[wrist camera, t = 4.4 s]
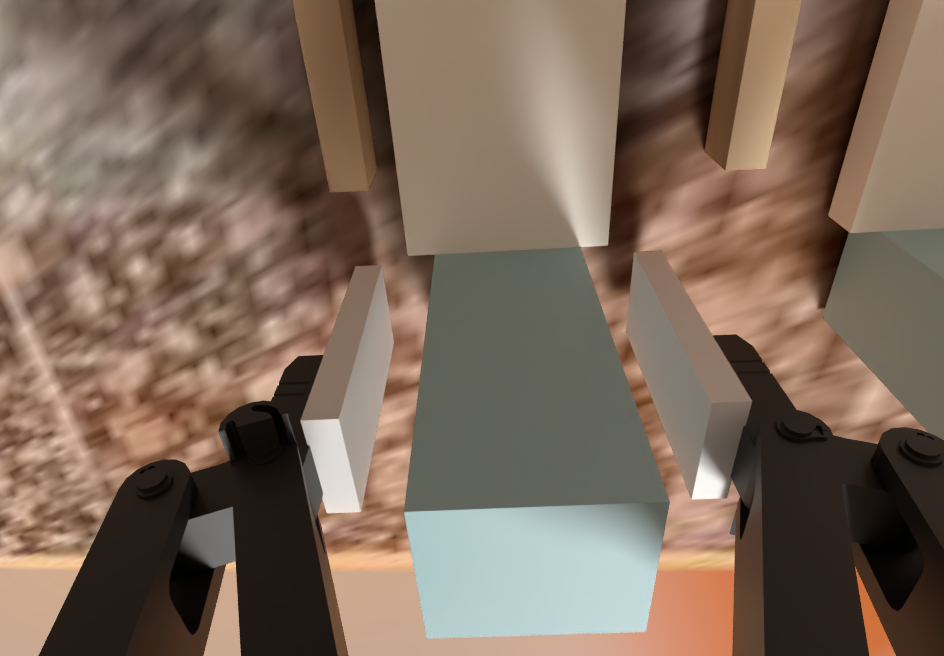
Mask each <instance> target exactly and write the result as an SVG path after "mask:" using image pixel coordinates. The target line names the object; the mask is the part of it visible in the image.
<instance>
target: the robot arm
mask: <svg viewBox="0 0 944 656" xmlns="http://www.w3.org/2000/svg"><path fill="white" fill-rule="evenodd" d="M626 333H627V336H628V338H629V341H630V343H631V346H632V348H633V351H634V353H635V356H636V359H637V361H638V364H639V366H640V369H641V371H642V374H643V376H644V379H645V382H646V384H647V387H648V389H649V392H650V394H651V397H652V400H653V402H654V405H655V407H656V410H657V412H658V415H659V417H660V420H661V423H662V425H663V428H664V430H665V433H666V435H667V438H668V440H669V443H670V446H671V448H672V451H673V453H674V456H675V458H676V461H677V463H678V466H679V469H680V471H681V474H682V476H683V479H684V481H685V484H686V486H687V489H688V492H689V494H690V497H691V499H715V498H727V496H728V492H729V488H730V484H731V481H732V480H733V482H734V484H735V486H736V489H737V491H738V493H739V495H740V498H739V502H738V505H737V509H736V513H735V516H734V520H733V523H732V527H731V531H730V534H732V535H735V534H736V535H735V574H734V576H735V577H734V614H733V615H734V616H733V653H732V654H733V655H732V656H869V651H868V646H867V639H866V633H865V627H864V620H863V614H862V608H861V602H860V595H859V589H858V583H857V577H856V571H855V567H856V569H857V571H858V573H859V575H860V577H861V580H862V582H863V584H864V586H865V589H866V591H867V593H868V595H869V597H870V599H871V601H872V604H873V606H874V608H875V610H876V612H877V615H878V617H879V619H880V621H881V623H882V626H883V628H884V630H885V632H886V634H887V636H888V639H889V641H890V643H891V645H892V647H893V649H894V652H895V654H896V656H944V440H942V439H941V438H939V437H937V436H935V435H933V434H930V433H927V432H924V431H922V430H918V429H911V428H905V427H903V428H892V429H890V430H888V431H886V432H884V433H883V434H882V436H881V438H880V441H879V443H878V444H874V443H869V442H863V441H857V440H852V439H846V438H842V437H838V436H834V435H833V434H832V432H831V430H830V428H829V427H828V426H827V425H826V424H825V423H824V422H823V421H821V420H820V419H818V418H816V417H815V416H813V415H811V414H809V413H806V412H802V411H799V410H796V408H795V407H794V405H793V404H792V402H791V401H790V399H789V398H788V397H787V395H786V394H785V392H784V391H783V389H782V388H781V386H780V385H779V383H778V382H777V381H776V379H775V378H774V376H773V375H772V374H770V370H769V369H768V368H767V366H766V365H765V363H764V362H762V359H761V357H760V356H759V354H758V353H757V352H756V350H755V349H754V347H753V346H752V345H750V344H749V343H748V342H746V341H745V340H743V339H742V338H740V337H739V336H737V335H714V336H712V334H711V332H710V331H709V329H708V327H707V326H706V324H705V322H704V321H703V319H702V317H701V316H700V314H699V312H698V311H697V309H696V307H695V306H694V304H693V303H692V301H691V299H690V298H689V296H688V294H687V293H686V291H685V289H684V288H683V286H682V284H681V283H680V281H679V279H678V278H677V276H676V274H675V273H674V271H673V270H672V268H671V266H670V265H669V263H668V261H667V260H666V258H665V256H664V255H663V253H662V251H644V252H634V258H633V268H632V278H631V288H630V298H629V308H628V317H627V327H626ZM393 345H394V341H393V334H392V328H391V321H390V315H389V309H388V302H387V296H386V290H385V283H384V277H383V270H382V265H370V266H355V269H354V272H353V275H352V278H351V280H350V283H349V286H348V289H347V292H346V294H345V297H344V300H343V303H342V305H341V308H340V311H339V314H338V317H337V319H336V322H335V325H334V328H333V331H332V333H331V336H330V339H329V342H328V345H327V347H326V350H325V353H324V355H314V356H298V357H297V358H296V359H295V360H294V361H293V362H292V363H291V364H290V365H289V366H288V367H287V368H285V370H284V372H283V375H282V377H281V379H280V382H279V386H277V389H276V391H275V393H274V397H273V398H272V400H271V401H259V402H252V403H249V404H246V405H244V406H241V407H239V408H237V409H236V410H234V411H233V412H231V413H230V414H228V415H227V416H226V418H225V419H224V420H223V421H222V422H221V424H220V428H219V432H218V433H219V435H220V438H221V440H222V443H223V445H224V448H225V450H226V453H227V456H228V458H229V461H228V462H225V463H223V464H220V465H217V466H214V467H210V468H206V469H203V470H199V471H196V472H192V473H190V470H189V469H188V467H187V466H186V464H185V463H183V462H181V461H178V460H160V461H157V462H153V463H150V464H148V465H146V466H144V467H142V468H140V469H138V470H136V471H135V472H134V473H133V474H131V475H130V476H129V477H128V478H126V480H125V481H124V482H123V484H122V485H121V487H120V488H119V490H118V492H117V494H116V496H115V498H114V500H113V502H112V504H111V506H110V508H109V511H108V513H107V515H106V517H105V519H104V521H103V523H102V525H101V527H100V529H99V531H98V533H97V535H96V538H95V540H94V542H93V544H92V546H91V548H90V550H89V552H88V554H87V556H86V558H85V560H84V562H83V565H82V567H81V569H80V571H79V573H78V575H77V577H76V579H75V581H74V583H73V586H72V587H71V590H70V592H69V594H68V596H67V598H66V600H65V602H64V604H63V606H62V608H61V610H60V612H59V614H58V617H57V619H56V621H55V623H54V625H53V627H52V629H51V631H50V633H49V635H48V637H47V640H46V641H45V644H44V646H43V648H42V650H41V652H40V654H39V656H203V654H204V651H205V647H206V642H207V639H208V635H209V631H210V627H211V623H212V618H213V615H214V611H215V607H216V603H217V599H218V595H219V591H220V587H221V582H222V579H223V575H224V571H225V567H226V564H228V563H231V562H234V561H236V573H237V592H238V610H239V627H240V644H241V656H348V651H347V646H346V642H345V637H344V632H343V627H342V623H341V618H340V613H339V609H338V604H337V599H336V594H335V590H334V584H333V580H332V575H331V570H330V565H329V561H328V556H327V551H326V546H325V542H324V537H323V532H322V527H321V524H320V520H319V517H318V511H319V507H320V504H321V500H322V498H323V501H324V505H325V508H326V512H327V513H346V512H361V509H362V504H363V499H364V494H365V488H366V483H367V478H368V473H369V468H370V463H371V458H372V452H373V447H374V442H375V437H376V432H377V427H378V422H379V416H380V411H381V406H382V401H383V396H384V391H385V386H386V381H387V375H388V370H389V365H390V360H391V355H392V350H393Z"/></svg>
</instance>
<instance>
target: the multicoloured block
mask: <svg viewBox="0 0 944 656" xmlns="http://www.w3.org/2000/svg"><path fill="white" fill-rule="evenodd" d="M375 7H376V14H377V22H378V30H379V38H380V45H381V53H382V61H383V69H384V76H385V84H386V92H387V100H388V107H389V115H390V123H391V131H392V138H393V146H394V154H395V162H396V169H397V177H398V185H399V193H400V200H401V208H402V216H403V224H404V231H405V239H406V247H407V255H408V256H416V255H435V256H434V265H433V273H432V282H431V290H430V298H429V307H428V315H427V323H426V332H425V340H424V349H423V357H422V365H421V374H420V382H419V391H418V399H417V407H416V416H415V424H414V432H413V441H412V449H411V458H410V466H409V474H408V483H407V491H406V500H405V508H404V515H405V520H406V526H407V531H408V537H409V542H410V548H411V554H412V559H413V565H414V570H415V576H416V581H417V587H418V592H419V598H420V604H421V609H422V614H423V620H424V626H425V631H426V637H427V639H429V638H461V637H493V636H494V637H495V636H527V635H557V634H558V635H559V634H590V633H623V632H646V628H647V621H648V616H649V611H650V606H651V601H652V595H653V589H654V584H655V579H656V573H657V568H658V563H659V557H660V552H661V546H662V541H663V536H664V530H665V525H666V519H667V514H668V509H669V503H670V501H669V498H668V495H667V493H666V490H665V487H664V484H663V481H662V478H661V476H660V473H659V470H658V467H657V464H656V461H655V458H654V456H653V453H652V450H651V447H650V444H649V441H648V438H647V436H646V433H645V430H644V427H643V424H642V421H641V418H640V416H639V413H638V410H637V407H636V404H635V401H634V399H633V396H632V393H631V390H630V387H629V384H628V381H627V379H626V376H625V373H624V370H623V367H622V364H621V361H620V359H619V356H618V353H617V350H616V347H615V344H614V341H613V339H612V336H611V333H610V330H609V327H608V324H607V322H606V319H605V316H604V313H603V310H602V307H601V304H600V302H599V299H598V296H597V293H596V290H595V287H594V284H593V282H592V279H591V276H590V273H589V270H588V267H587V264H586V262H585V259H584V256H583V253H582V250H581V247H591V246H608V238H609V225H610V211H611V198H612V184H613V171H614V158H615V144H616V131H617V117H618V104H619V91H620V77H621V64H622V50H623V37H624V23H625V10H626V0H375Z"/></svg>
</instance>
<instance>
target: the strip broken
mask: <svg viewBox="0 0 944 656" xmlns="http://www.w3.org/2000/svg"><path fill="white" fill-rule="evenodd" d="M828 216H829V217H830V218H831V219H833V220H834V221H835V222H837V223H838V224H839V225H840V226H842V227H843V228H844V229H846V230H847V231H848V232H849V234H848V237H847V240H846V244H845V247H844V250H843V253H842V256H841V259H840V263H839V266H838V269H837V272H836V275H835V279H834V282H833V285H832V288H831V291H830V295H829V298H828V301H827V304H826V307H825V310H824V314H823V317H822V318H823V319H824V320H825V321H826V322H827V323H828V324H829V326H830V327H831V328H832V329H833V330H834V331H835V332H836V333H837V334H838V335H839V336H840V337H841V339H842V340H843V341H844V342H845V343H846V344H847V345H848V346H849V347H850V348H851V349H852V350H853V352H854V353H855V354H856V355H857V356H858V357H859V358H860V359H861V360H862V361H863V362H864V363H865V364H866V366H867V367H868V368H869V369H870V370H871V371H872V372H873V373H874V374H875V375H876V376H877V377H878V379H879V380H880V381H881V382H882V383H883V384H884V385H885V386H886V387H887V388H888V389H889V390H890V392H891V393H892V394H893V395H894V396H895V397H896V398H897V399H898V400H899V401H900V402H901V403H902V405H903V406H904V407H905V408H906V409H907V410H908V411H909V412H910V413H911V414H912V415H913V416H914V418H915V419H916V420H917V421H918V422H919V423H920V424H921V425H922V426H923V427H924V428H925V429H926V431H927V432H928V433H930V434H933V435H935V436H937V437H939V438H941V439H942V440H944V0H890V2H889V6H888V9H887V13H886V16H885V20H884V23H883V26H882V30H881V33H880V37H879V40H878V44H877V47H876V51H875V54H874V58H873V61H872V65H871V68H870V72H869V75H868V79H867V82H866V85H865V89H864V92H863V96H862V99H861V103H860V106H859V110H858V113H857V117H856V120H855V124H854V127H853V131H852V134H851V138H850V141H849V145H848V148H847V151H846V155H845V158H844V162H843V165H842V169H841V172H840V176H839V179H838V183H837V186H836V190H835V193H834V197H833V200H832V204H831V207H830V211H829V214H828Z"/></svg>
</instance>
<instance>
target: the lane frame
mask: <svg viewBox="0 0 944 656" xmlns="http://www.w3.org/2000/svg"><path fill="white" fill-rule="evenodd" d="M292 2H293V7H294V12H295V17H296V22H297V27H298V32H299V38H300V43H301V48H302V53H303V58H304V63H305V68H306V73H307V78H308V84H309V89H310V94H311V99H312V104H313V109H314V114H315V119H316V124H317V130H318V135H319V140H320V145H321V150H322V155H323V160H324V165H325V170H326V176H327V181H328V186H329V191H330V192H348V191H366V190H369V188H370V186H371V183H372V181H373V179H374V176H375V174H376V171H377V166H376V160H375V153H374V146H373V139H372V132H371V126H370V119H369V112H368V105H367V99H366V92H365V85H364V78H363V71H362V65H361V58H360V51H359V44H358V37H357V31H356V24H355V17H354V10H353V3H352V0H292ZM801 3H802V0H728V4H727V11H726V17H725V24H724V30H723V36H722V43H721V49H720V55H719V62H718V68H717V74H716V81H715V87H714V94H713V100H712V106H711V113H710V119H709V125H708V132H707V138H706V145H705V151H704V152H705V153H707V154H708V155H709V156H710V157H711V158H712V159H713V160H714V161H715V162H716V163H717V164H719V165H720V166H721V167H722V168H723V169H724V170H725V171H728V170H746V169H764V168H766V165H767V160H768V156H769V151H770V146H771V142H772V137H773V133H774V128H775V123H776V119H777V114H778V110H779V105H780V100H781V96H782V91H783V86H784V82H785V77H786V73H787V68H788V63H789V59H790V54H791V50H792V45H793V40H794V36H795V31H796V27H797V22H798V17H799V13H800V8H801Z"/></svg>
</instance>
